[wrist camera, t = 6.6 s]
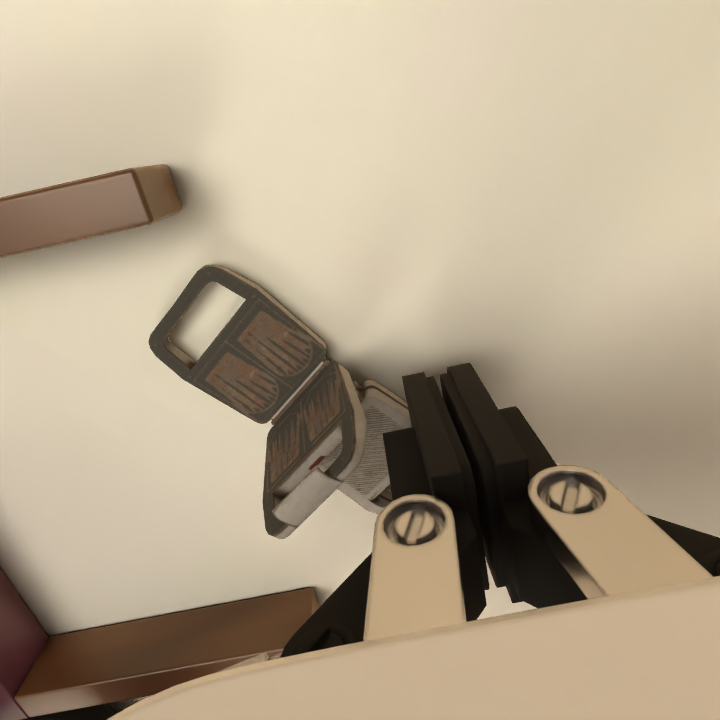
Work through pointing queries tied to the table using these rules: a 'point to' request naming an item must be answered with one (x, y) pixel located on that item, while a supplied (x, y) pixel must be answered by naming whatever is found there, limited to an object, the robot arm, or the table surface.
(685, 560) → the robot arm
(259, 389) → the strap clip
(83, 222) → the frame
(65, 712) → the controller
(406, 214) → the table surface
